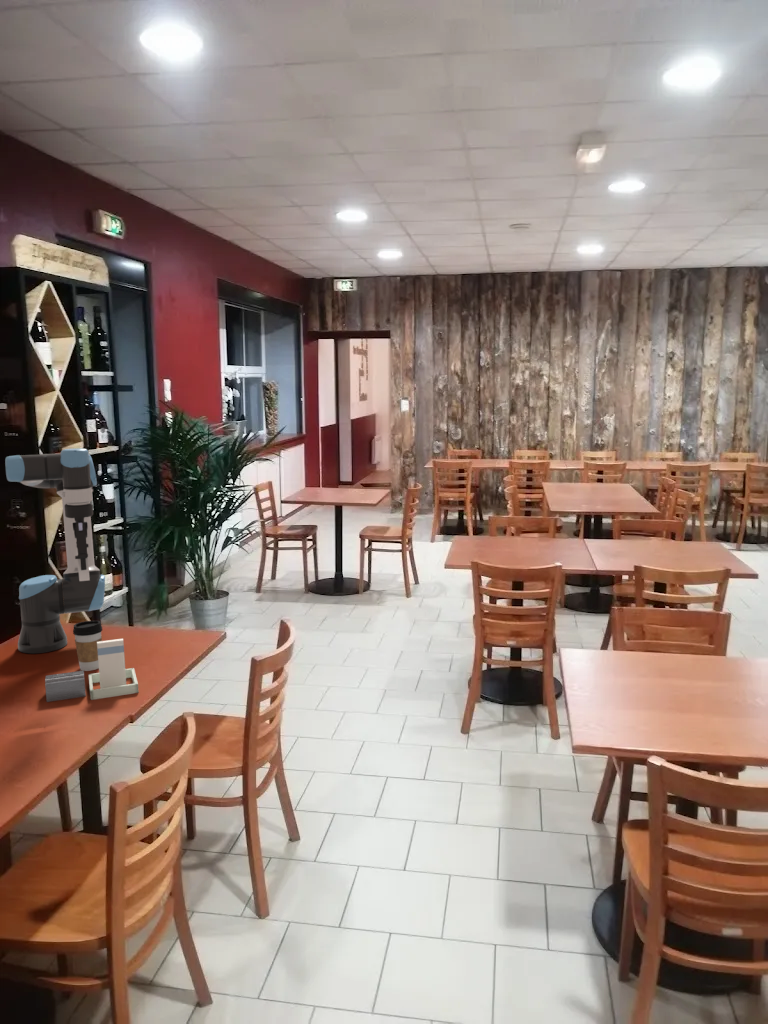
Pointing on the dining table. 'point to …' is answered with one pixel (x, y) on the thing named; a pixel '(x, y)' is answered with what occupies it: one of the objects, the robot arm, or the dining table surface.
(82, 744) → the dining table surface
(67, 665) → the dining table surface
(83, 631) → the coffee cup
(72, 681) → the dispenser
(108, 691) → the tray
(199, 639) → the dining table surface
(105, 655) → the white striped flat box
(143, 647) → the dining table surface
